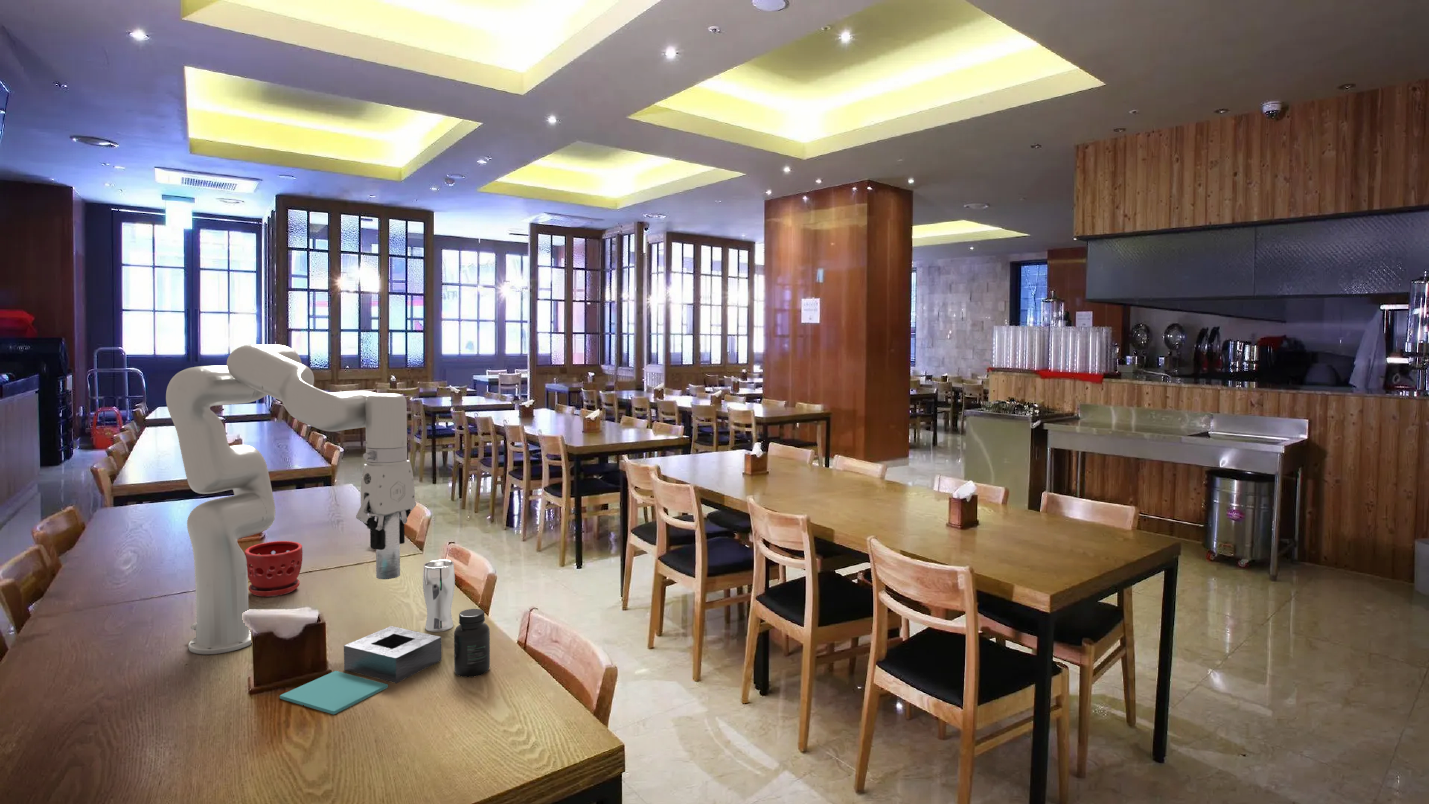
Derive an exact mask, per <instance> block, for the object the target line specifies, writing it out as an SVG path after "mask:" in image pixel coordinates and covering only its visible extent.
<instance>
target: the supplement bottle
mask: <svg viewBox="0 0 1429 804" xmlns="http://www.w3.org/2000/svg"><path fill="white" fill-rule="evenodd" d="M485 621H486V618H485V610H483V609H480V608H468V609H464V610H462V611H460V612H459V613H458V624H459V625H457V626H456V627H455V629H454V631H453V662H454V663H453V665H454V667H453V668H454V673H455V675H457V676H458V677H461V676H462V677H463V678H474V676H476V677H479V676H482V675H484V674H486V673H487V672H488V671H489V669H490V668H491V667H490V664H491V659H490V657H491V656H490V655H491V653H490V652H491V649H490V648H491V646H490V645H491V643H490V642H491V641H490V640H491V638H490V637H491V634H490V633H491V630H490V627H489V625H488V624H487V623H486V622H485ZM462 677H461V678H462Z"/></svg>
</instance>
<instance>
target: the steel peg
mask: <svg viewBox="0 0 1429 804" xmlns="http://www.w3.org/2000/svg"><path fill="white" fill-rule="evenodd" d="M376 520H377V517H375V521H376ZM382 529H383V530H384V531H385V548H384V549H383V550H378V549H375V568H376V569H375V571H376V572H375V574H376V575H375V577H376V578H377V579H378V580H392V579H397V578H399V577H400V576H401V560H400V559H401V552H400V551H401V549H400V548H401V547H400V545H401V544H400V521H399V512H397V513H392V514H388V515H384V519H383V525H382Z"/></svg>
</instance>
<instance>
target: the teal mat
mask: <svg viewBox="0 0 1429 804" xmlns="http://www.w3.org/2000/svg"><path fill="white" fill-rule="evenodd" d="M388 688H389V685H388V684H387V683H384V682H380V681H376V680H372V679H368V678H365V677H360V676H358V675H353V674H350V673H346V672H342V671H338V670H334V671H331V672H329V673H328V674H325V675H323V676H321V677H320V676H319V677H317V678H315V679H314V680H312V681H309V682H307V683H304V684H303V685H300V686H298V687H296V688H293V689H291V690H289V691H287V692H286V691H285V692H284V693H282V694H280V695H279V699H281V700H284V701H287V702H290V703H293V704H297V705H300V706H303V705H304V707H307V708H311V709H313V710H317V711H320V712H324V713H328V714H331V715H336V714H338V713H340V712H342V711H344V710H346V709H348V708H350V707H352V706H354V705H357V704H358V703H359V702H362V701H365V699H368V698H370V697H372V696H374V695H376V694H378V693H380V692H381V691H383V690H384V691H385V690H386V689H388Z"/></svg>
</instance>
